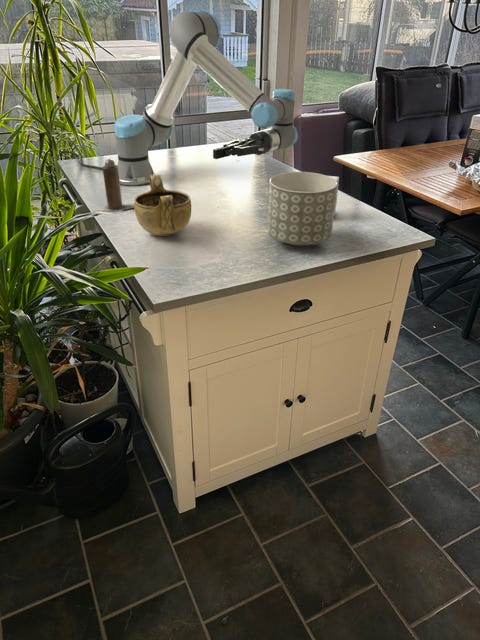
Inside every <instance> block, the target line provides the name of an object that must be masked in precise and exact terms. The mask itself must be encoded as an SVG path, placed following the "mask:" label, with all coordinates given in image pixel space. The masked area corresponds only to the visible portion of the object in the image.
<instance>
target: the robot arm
mask: <svg viewBox="0 0 480 640" xmlns="http://www.w3.org/2000/svg"><path fill="white" fill-rule="evenodd" d="M222 33H223V31H222V26H221V23H220V21H219V19H218V18H217V16H216V15H215V14H213V13H212V12H209V11H205V10H198V11H182V12H179V13H177V14H176V15H175V16H174V17H173V19H172V20H171V22H170V24H169V39H170V42H171V43H172V45H173V47H174V48H175V50H176V51H175V53H174V55H173V58H172V60H171V62H170V63H169V67H168V69H167V70H166V73H165V75H164V77H163V79H162V82H161V84H160V85H159V88H158V89H157V93H156V94H155V97H154V99H153V101H152V103H151V104H147V105H146V106H145V109H144V110H143V112H142V115H140V114H129V115H124V116H120V117H119V118H116V120H115V121H114V136H115V143H116V153H117V159H118V161H117V166H118V172H119V180H120V185H121V186H122V185H123V186H144V185H148V184H149V185H150V176H151V175H156V174H155V172H154V169H153V167H152V165H151V162H150V158H149V149H151V148H152V147H156V146H159V145H163V144H164V143H166V142H167V141H168V140H169V139H170V138H171V136H172V134H173V131H174V127H173V124H174V118H173V116H174V112H175V111H176V109H177V107H178V105H179V103H180V101H181V99H182V97H183V95H184V93H185V91H186V89H187V87H188V85H189V83H190V81H191V79H192V78H193V75H194V73H195V72H196V70H197V67H199V68H200V69H201V70H202V71H203V72H204V73H206V74H207V75H208V76H209V77H210V78H211V79H212V80H213V81H214V82H215V83H217V84H218V85H219V86H220V87H221V88H222V89H223V90H224V91H225V92H226V93H228V94H229V96H231V98H233V99H234V100H235V101H236V102H237V103H238V104H240V105H241V106H242V107H243V108H244V109H245V110H246V111H247V112H248V113H249V114H250V115H251V119H252V122H253V124H254V125H255V126H256V127H258V128H260V129H262V130H259V131H255V132H252V133H251V134H250V135H249V137H247V138H245V139H242V140H240V139H239V138H234V139H233V140H230V141H228V142H225V143H223V144H222V147H218V148H214V149H212V159H214V160H219V159H224V158H226V157H227V158H228V157H231V156H232V157H234V156H237V157H244V156H249V155H250V156H251V155H256V156H261V155H264V154H270V153H272V152H275V151H278V150H283V149H287V148H289V147H293V146H294V145H295V144H296V143H297V141H298V139H299V133H298V129H297V128H296V126H295V125H294V113H295V103H296V98H295V91H294V90H293V89H288V88H276V89H274V90H273V92H272V97H271V98H270V97H269V96H268V95H267V94H266V93H264V92H263V91H262V90H261V89H260V88H259V87H258V86H257V85H256V84H255V83H254V82H252V81H251V79H249V78H248V77H247V76H246V75H245V74H244V73H243V72H241V70H240V69H238V68H237V67H236V65H234V63H232V62H231V61H230V60H228V58H226V56H225V55H223V54H222V53H221V52H220V51H219V50H218V49H217V48H216V47H217V46H218V45H219V44H220V43H221V40H222V36H223V35H222ZM265 128H267V129H265ZM63 154H70V155H73V156H76V157H77V160H78V163H79V165H80V166H82V167H85V168H90V169H96V170H101V171H103V168H102V167H103V166H97V165H90V164H86V163H83V162H82V160H81V161H79V159H81V155H80V154H79V153H76V152H73V151H71V150H61V151H60V152H59V153H58V155H59V156H61V155H63Z"/></svg>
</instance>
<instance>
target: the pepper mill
mask: <svg viewBox="0 0 480 640" xmlns="http://www.w3.org/2000/svg"><path fill="white" fill-rule="evenodd" d="M101 167H102V168H103V170H102V175H103V183H104V189H105V197H106V204H107V208H108V210H110V211H111V210H112V211H117V210H121V209H123V207H124V206H123V198H122V191H121V190H122V188H121V184H120V180H119V172H118V164H116V163H115V161H114V160H113V159H111V158H108V159H106V160H105V162H104V165H103V166H101Z"/></svg>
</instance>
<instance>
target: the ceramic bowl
mask: <svg viewBox="0 0 480 640" xmlns="http://www.w3.org/2000/svg"><path fill="white" fill-rule="evenodd" d="M149 187H150V189H149V191H147V192H143V193H140V194H138V195H137V196H135V197H134V199H133V201H134V202H133V203H134V214H135V217H136V220H137V223H138V224H139V226H140V227H141V228H142V229H143V230H144V231H145V232H147V233H148V234H151V235H154V236H158V237H168V236H172V235H176V234H177V233H179V232H181V231H182V230H183V229H185V227H187V226H188V224H189V222H190V219H191V217H192V201H191V196H190V195H189V194H188V193H186V192H183V191H180V190H174V189H173V190H172V189H166V188H165V187H164V183H163V177H162V175H161V174H155V175H151V176H150V183H149Z"/></svg>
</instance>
